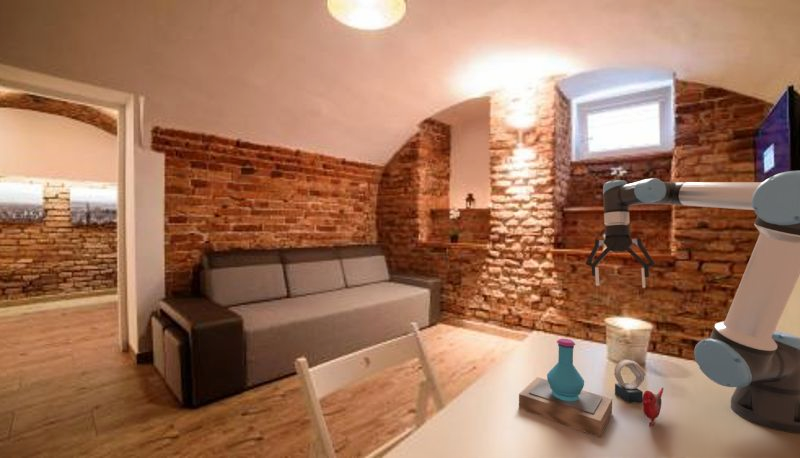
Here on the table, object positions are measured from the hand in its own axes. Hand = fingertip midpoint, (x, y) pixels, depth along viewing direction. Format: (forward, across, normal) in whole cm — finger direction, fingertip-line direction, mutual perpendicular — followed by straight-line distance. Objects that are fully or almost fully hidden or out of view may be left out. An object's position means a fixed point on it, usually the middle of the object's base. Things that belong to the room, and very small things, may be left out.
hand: (620, 286), depth 121 cm
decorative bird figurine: (+34, -9, +26) cm, 44 cm away
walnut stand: (+33, +11, +35) cm, 50 cm away
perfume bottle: (+29, +11, +36) cm, 47 cm away
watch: (+32, -2, +16) cm, 36 cm away
